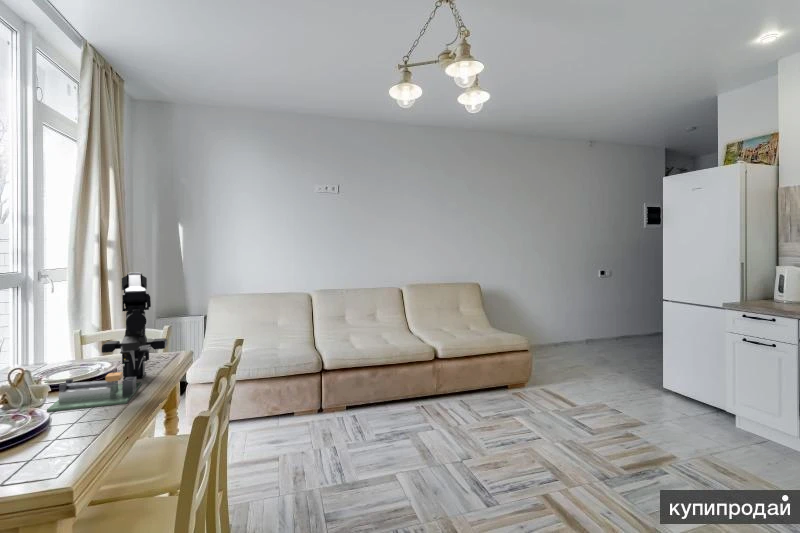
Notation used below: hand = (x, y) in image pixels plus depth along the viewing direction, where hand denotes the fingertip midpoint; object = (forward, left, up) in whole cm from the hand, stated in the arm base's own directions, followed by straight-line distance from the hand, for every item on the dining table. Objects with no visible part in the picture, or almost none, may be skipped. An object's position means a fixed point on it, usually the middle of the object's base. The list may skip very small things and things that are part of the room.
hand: (135, 369), depth 139 cm
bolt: (+7, 0, -3) cm, 7 cm away
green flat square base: (+11, 0, -9) cm, 14 cm away
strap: (+13, 0, -4) cm, 14 cm away
